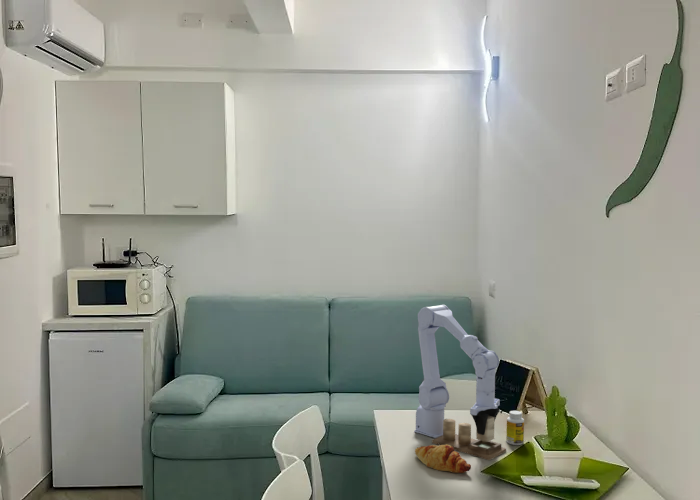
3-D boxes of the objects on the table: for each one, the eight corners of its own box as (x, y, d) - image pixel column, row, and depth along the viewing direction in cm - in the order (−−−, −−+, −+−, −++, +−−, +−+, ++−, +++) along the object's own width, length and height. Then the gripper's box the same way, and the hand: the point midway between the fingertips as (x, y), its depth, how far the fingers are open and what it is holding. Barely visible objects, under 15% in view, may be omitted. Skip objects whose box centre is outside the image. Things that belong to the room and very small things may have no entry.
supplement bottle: (515, 447, 212) (516, 416, 211) (502, 441, 216) (503, 411, 216) (527, 443, 215) (527, 413, 214) (514, 438, 219) (515, 408, 219)
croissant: (409, 469, 202) (401, 449, 199) (427, 446, 208) (420, 427, 205) (465, 489, 187) (456, 468, 184) (483, 464, 193) (475, 444, 190)
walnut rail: (432, 442, 215) (432, 422, 215) (449, 435, 222) (449, 415, 222) (489, 460, 200) (489, 437, 200) (506, 451, 208) (506, 429, 207)
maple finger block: (475, 438, 207) (475, 416, 207) (482, 435, 210) (482, 414, 209) (487, 442, 204) (487, 420, 204) (494, 438, 207) (494, 417, 206)
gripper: (484, 397, 198) (483, 441, 199) (508, 387, 209) (507, 429, 209) (464, 392, 203) (464, 435, 204) (489, 383, 213) (488, 424, 214)
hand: (484, 432), depth 207 cm, fingers closed on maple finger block, 4 cm apart
